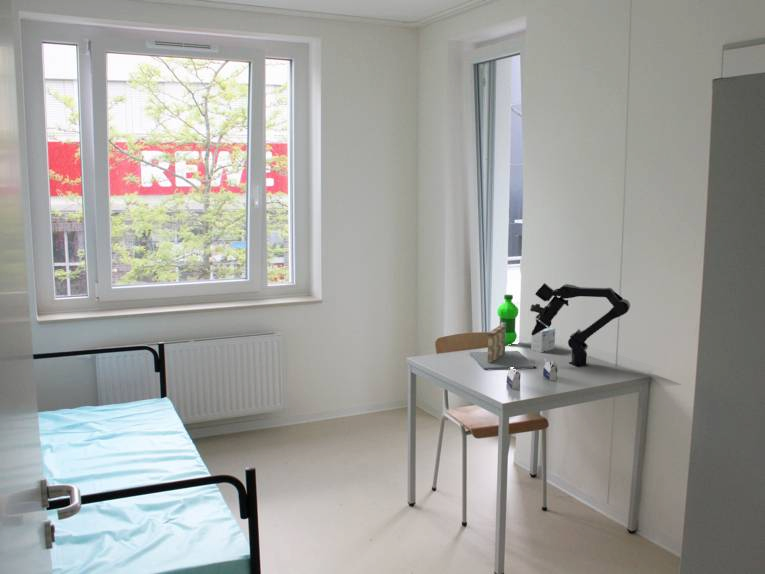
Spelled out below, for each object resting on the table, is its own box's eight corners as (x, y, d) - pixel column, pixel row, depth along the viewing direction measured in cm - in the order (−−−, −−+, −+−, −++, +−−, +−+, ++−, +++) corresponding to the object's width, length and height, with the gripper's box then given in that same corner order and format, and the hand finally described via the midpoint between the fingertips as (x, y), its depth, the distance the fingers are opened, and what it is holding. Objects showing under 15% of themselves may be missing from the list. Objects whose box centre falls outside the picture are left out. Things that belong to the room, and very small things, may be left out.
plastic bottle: (492, 342, 349) (494, 295, 345) (506, 339, 356) (508, 292, 351) (506, 347, 341) (508, 298, 337) (521, 343, 348) (523, 295, 343)
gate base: (517, 352, 331) (519, 320, 328) (536, 368, 305) (537, 333, 302) (469, 354, 328) (470, 321, 325) (483, 369, 302) (485, 334, 300)
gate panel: (498, 353, 324) (499, 325, 322) (503, 353, 323) (504, 326, 321) (486, 361, 310) (487, 333, 307) (492, 362, 308) (493, 333, 306)
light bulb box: (543, 346, 343) (544, 325, 341) (555, 349, 337) (556, 328, 336) (530, 350, 336) (531, 328, 334) (541, 353, 331) (542, 331, 329)
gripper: (537, 297, 322) (517, 323, 323) (540, 297, 303) (518, 325, 305) (556, 311, 320) (536, 337, 322) (560, 312, 302) (538, 340, 303)
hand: (532, 334), depth 313 cm, fingers closed
